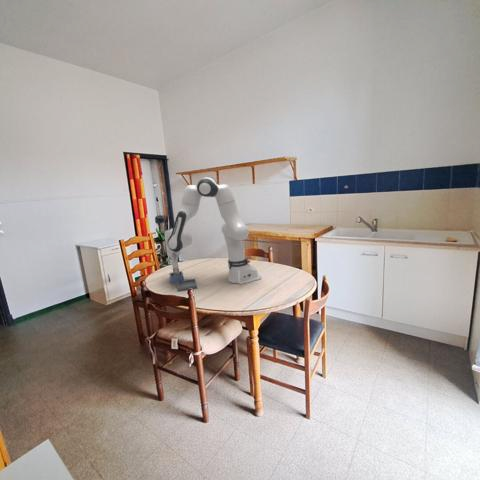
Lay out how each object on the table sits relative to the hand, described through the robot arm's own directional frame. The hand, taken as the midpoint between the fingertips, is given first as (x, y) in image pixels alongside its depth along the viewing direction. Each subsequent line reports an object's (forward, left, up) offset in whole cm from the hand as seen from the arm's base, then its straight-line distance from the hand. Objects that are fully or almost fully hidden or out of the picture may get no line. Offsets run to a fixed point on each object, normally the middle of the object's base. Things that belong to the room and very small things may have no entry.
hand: (176, 271), depth 180 cm
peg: (0, 0, -7) cm, 7 cm away
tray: (-6, +14, -7) cm, 17 cm away
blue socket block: (0, 0, -7) cm, 7 cm away
